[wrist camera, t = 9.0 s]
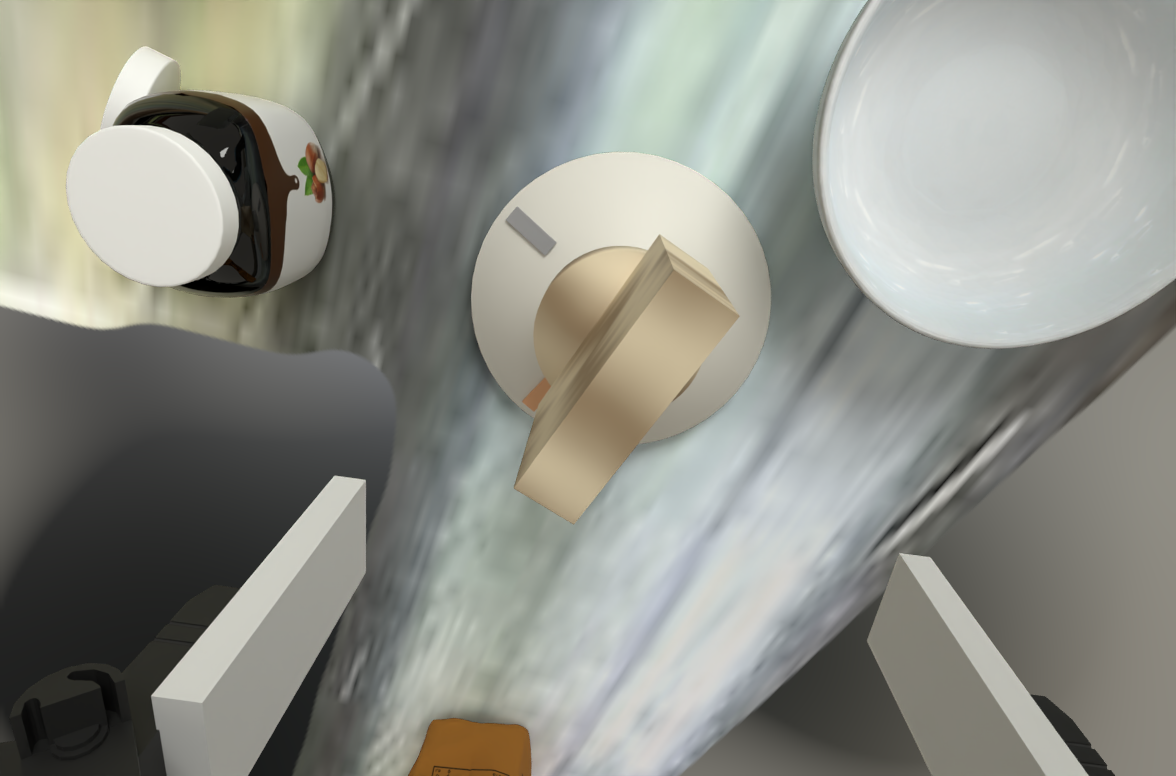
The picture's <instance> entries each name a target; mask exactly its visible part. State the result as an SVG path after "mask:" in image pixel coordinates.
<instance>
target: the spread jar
mask: <svg viewBox="0 0 1176 776" xmlns="http://www.w3.org/2000/svg"><path fill="white" fill-rule="evenodd" d="M180 82H181V70H180V66H179V64H178V62H177V61H176V60H174V59H172V58H170V57H168V56H166V55H164V54H162V53H160V52H158V51H156V50H154V49H151V48H149V47H147V46H144V47H141V48H139V49H138V50H136V51H135V52H134V54H133V55H132V56H131V57H130V58H129V60H128V61H127V62H126V64H125V65H124V67H123V69H122V71H121V72H120V74H119V76H118V78H117V80H116V82H115V84H114V87H113V89H112V92H111V94H110V97H109V99H108V102H107V105H106V109H105V112H104V115H103V119H102V123H101V128H100V130H99V131H97V132H95V133H94V134H92V135H90V136H88V137H87V138H86V139H85V140H84V141H83V142H82V143H81V144H80V145H79V146H78V148H77V150H76V151H75V153H74V155H73V156H72V158H71V161H70V164H69V168H68V171H67V179H66V193H67V201H68V206H69V209H70V212H71V215H72V219H73V221H74V223H75V225H76V227H77V229H78V231H79V233H80V235H81V236H82V238H83V239H84V241H85V242H86V243H87V245H88V246H89V248H90V249H91V250H92V251H93V252H94V253H95V254H96V255H97V256H98V257H99V258H100V259H101V261H103V262H104V263H105V264H106V265H108V266H109V267H110V268H112V269H113V270H114V271H116V272H117V273H119V274H121V275H123V276H125V277H126V278H128V279H130V280H133V281H136V282H139V283H141V284H145V285H150V286H156V287H171V288H173V289H176V290H179V291H183V292H187V293H191V294H195V295H201V296H209V297H246V296H253V295H259V294H264V293H268V292H271V291H274V290H277V289H280V288H282V287H284V286H286V285H288V284H291V283H293V282H295V281H297V280H298V279H300V278H302V277H304V276H306V275H307V274H308V273H310V272H311V271H312V270H313V269H314V268H315V267H316V266H317V264H318V263H319V262H320V260H321V258H322V257H323V254H324V252H325V249H326V246H327V244H328V240H329V237H330V233H331V229H332V223H333V217H334V207H335V193H334V185H333V180H332V175H331V171H330V168H329V165H328V162H327V159H326V156H325V153H324V151H323V149H322V146H321V144H320V142H319V140H318V138H317V136H316V135H315V133H314V131H313V130H312V128H311V127H310V125H309V124H308V122H307V121H306V120H305V119H304V118H303V117H301V116H300V115H299V114H297V113H296V112H295V111H293V110H292V109H290V108H288V107H286V106H284V105H281V104H278V103H275V102H272V101H269V100H266V99H262V98H258V97H254V96H248V95H242V94H235V93H226V92H217V91H204V90H180Z"/></svg>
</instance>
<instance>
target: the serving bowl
mask: <svg viewBox="0 0 1176 776" xmlns="http://www.w3.org/2000/svg"><path fill="white" fill-rule="evenodd" d="M812 170H813V185H814V191H815V197H816V202H817V207H818V211H819V215H820V218H821V222H822V225H823V228H824V230H825V233H826V236H827V238H828V240H829V243H830V245H831V247H832V249H833V251H834V253H835V254H836V256H837V258H838V260H839V261H840V263H841V265H842V266H843V268H844V269H845V271H846V272H847V274H848V275H849V276H850V278H851V279H852V280H853V282H854V283H855V284H856V285H857V287H858V288H859V289H860V290H861V291H862V292H863V294H864V295H865V296H866V297H867V298H868V299H869V300H870V301H871V302H872V303H874V304H875V305H876V306H877V307H878V308H879V309H881V310H882V311H883V312H884V313H886V314H887V315H888V316H890V317H891V318H892V319H894V320H895V321H897V322H898V323H900V324H902V325H904V326H906V327H907V328H909V329H911V330H913V331H915V332H917V333H920V334H922V335H924V336H927V337H930V338H932V339H935V340H939V341H943V342H946V343H951V344H955V345H960V346H966V347H974V348H986V349H1004V348H1018V347H1027V346H1032V345H1038V344H1044V343H1048V342H1052V341H1056V340H1060V339H1064V338H1067V337H1070V336H1073V335H1076V334H1079V333H1082V332H1085V331H1087V330H1090V329H1092V328H1095V327H1097V326H1099V325H1102V324H1104V323H1106V322H1108V321H1110V320H1112V319H1114V318H1116V317H1118V316H1120V315H1122V314H1124V313H1125V312H1127V311H1129V310H1130V309H1132V308H1134V307H1136V306H1137V305H1139V304H1141V303H1142V302H1144V301H1145V300H1147V299H1148V298H1150V297H1151V296H1153V295H1154V294H1156V293H1157V292H1158V291H1160V290H1161V289H1163V288H1164V287H1165V286H1167V285H1168V284H1169V283H1171V282H1172V281H1173V280H1174V279H1176V0H868V1H867V2H866V4H865V5H864V7H863V8H862V10H861V11H860V13H859V14H858V16H857V18H856V19H855V21H854V22H853V24H852V26H851V28H850V29H849V31H848V33H847V35H846V36H845V38H844V40H843V42H842V44H841V46H840V48H839V50H838V53H837V55H836V57H835V59H834V62H833V64H832V66H831V69H830V71H829V74H828V77H827V80H826V83H825V86H824V89H823V93H822V96H821V99H820V104H819V108H818V113H817V117H816V123H815V129H814V137H813V153H812Z"/></svg>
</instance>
